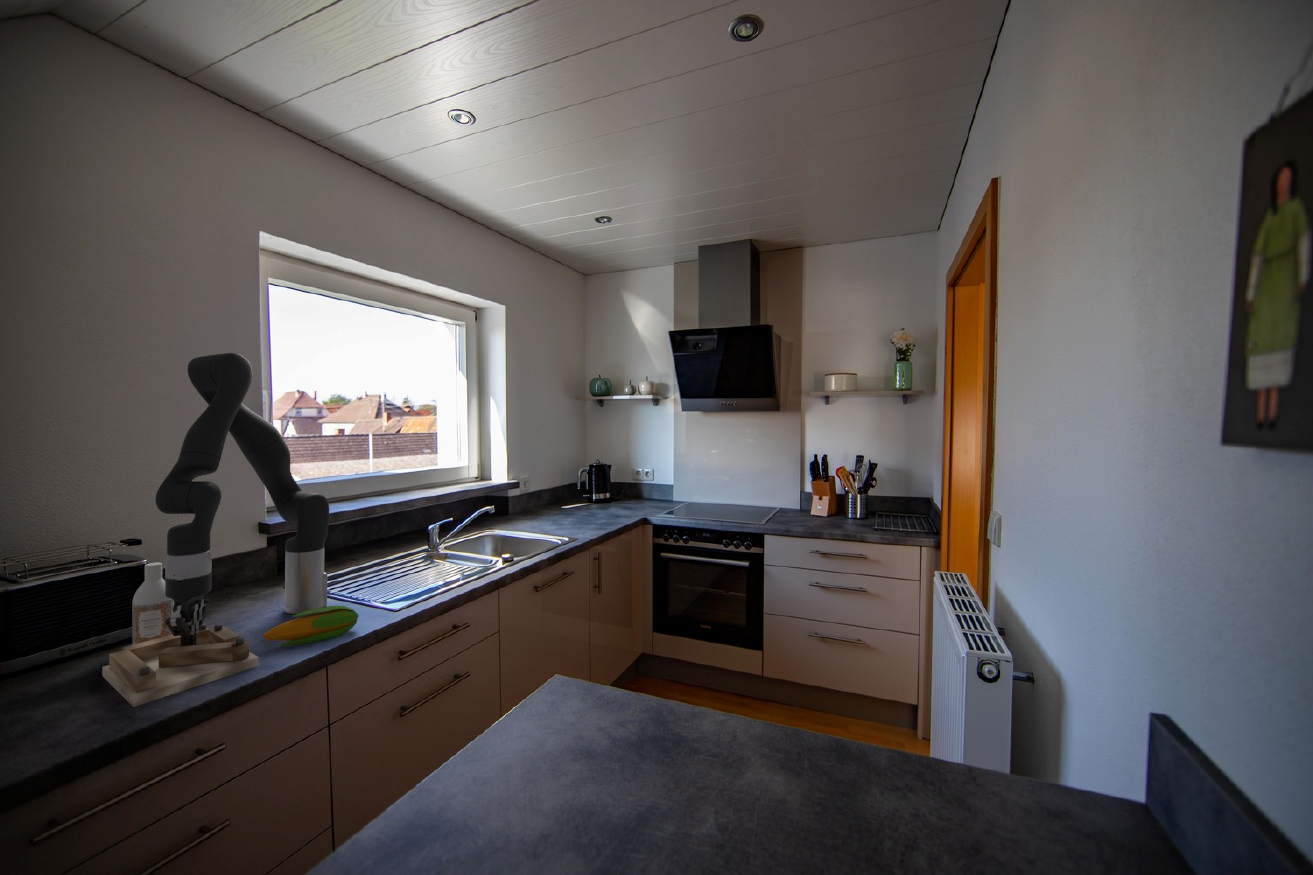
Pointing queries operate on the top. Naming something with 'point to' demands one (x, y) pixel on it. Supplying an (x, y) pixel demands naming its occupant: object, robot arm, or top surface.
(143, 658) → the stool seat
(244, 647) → the brown rectangular block
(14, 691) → the top surface
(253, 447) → the robot arm
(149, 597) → the bath foam
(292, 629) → the corn
